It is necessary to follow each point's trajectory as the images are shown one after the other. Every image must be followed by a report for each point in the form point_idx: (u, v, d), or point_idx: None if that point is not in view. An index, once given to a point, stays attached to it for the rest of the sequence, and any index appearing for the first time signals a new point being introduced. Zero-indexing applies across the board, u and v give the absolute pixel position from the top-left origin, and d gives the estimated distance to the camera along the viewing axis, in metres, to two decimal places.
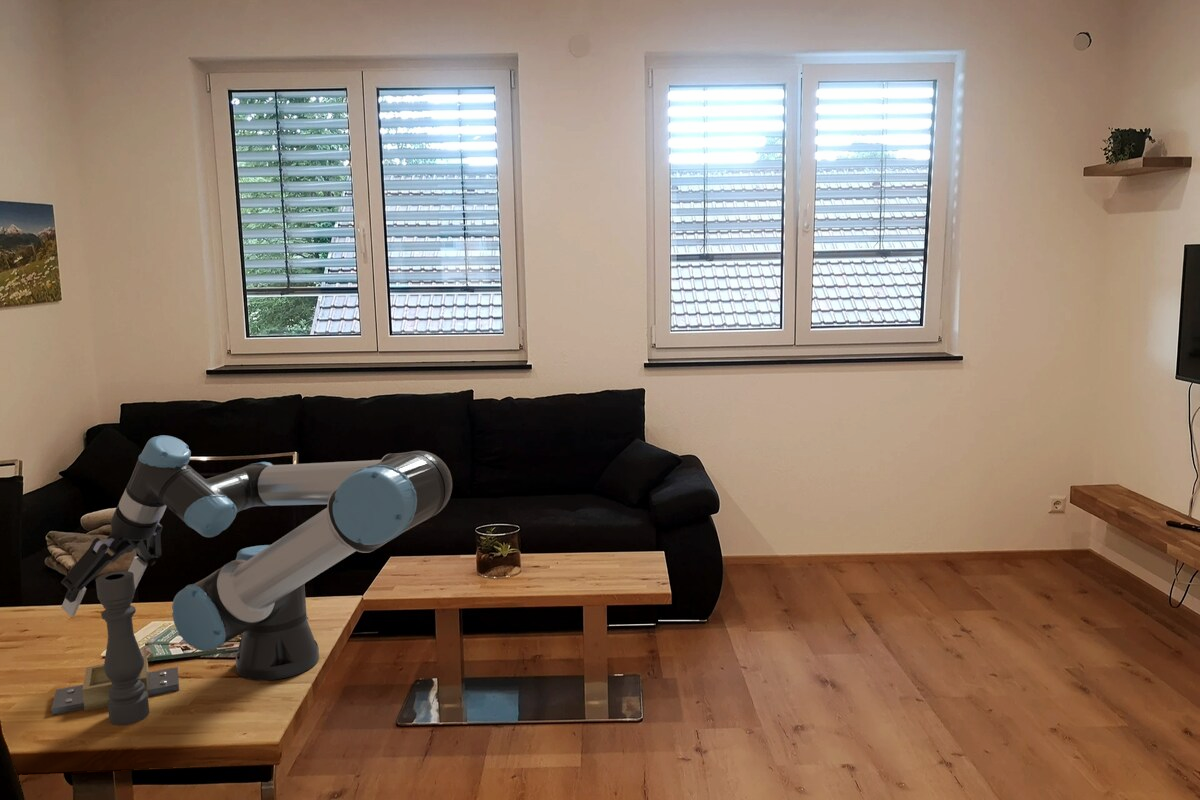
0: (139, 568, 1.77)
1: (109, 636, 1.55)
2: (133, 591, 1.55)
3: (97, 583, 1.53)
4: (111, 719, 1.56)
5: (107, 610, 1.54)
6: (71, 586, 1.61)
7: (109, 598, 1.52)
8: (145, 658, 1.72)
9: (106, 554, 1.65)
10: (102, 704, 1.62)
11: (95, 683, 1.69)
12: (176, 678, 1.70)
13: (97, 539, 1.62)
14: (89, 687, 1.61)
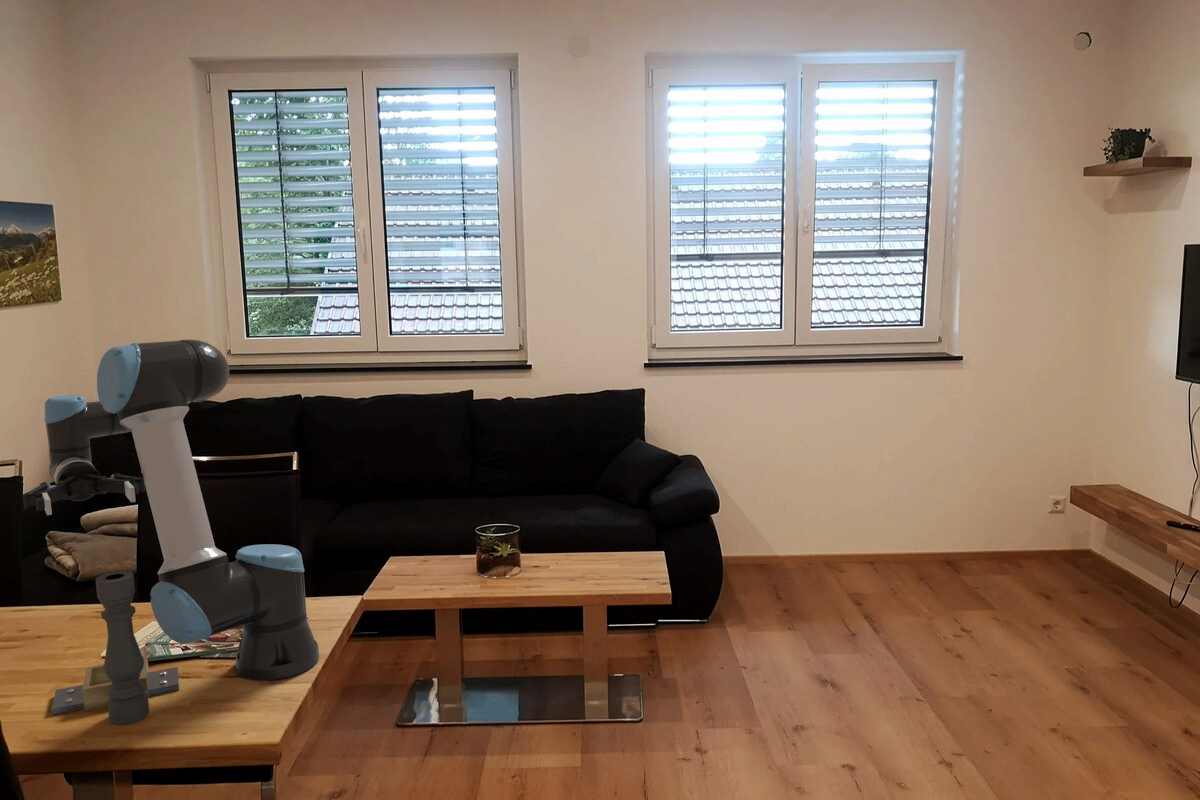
0: (125, 486, 1.77)
1: (109, 636, 1.55)
2: (133, 591, 1.55)
3: (97, 583, 1.53)
4: (111, 719, 1.56)
5: (107, 610, 1.54)
6: None
7: (109, 598, 1.52)
8: (145, 658, 1.72)
9: None
10: (102, 704, 1.62)
11: (95, 683, 1.69)
12: (176, 678, 1.70)
13: None
14: (89, 687, 1.61)
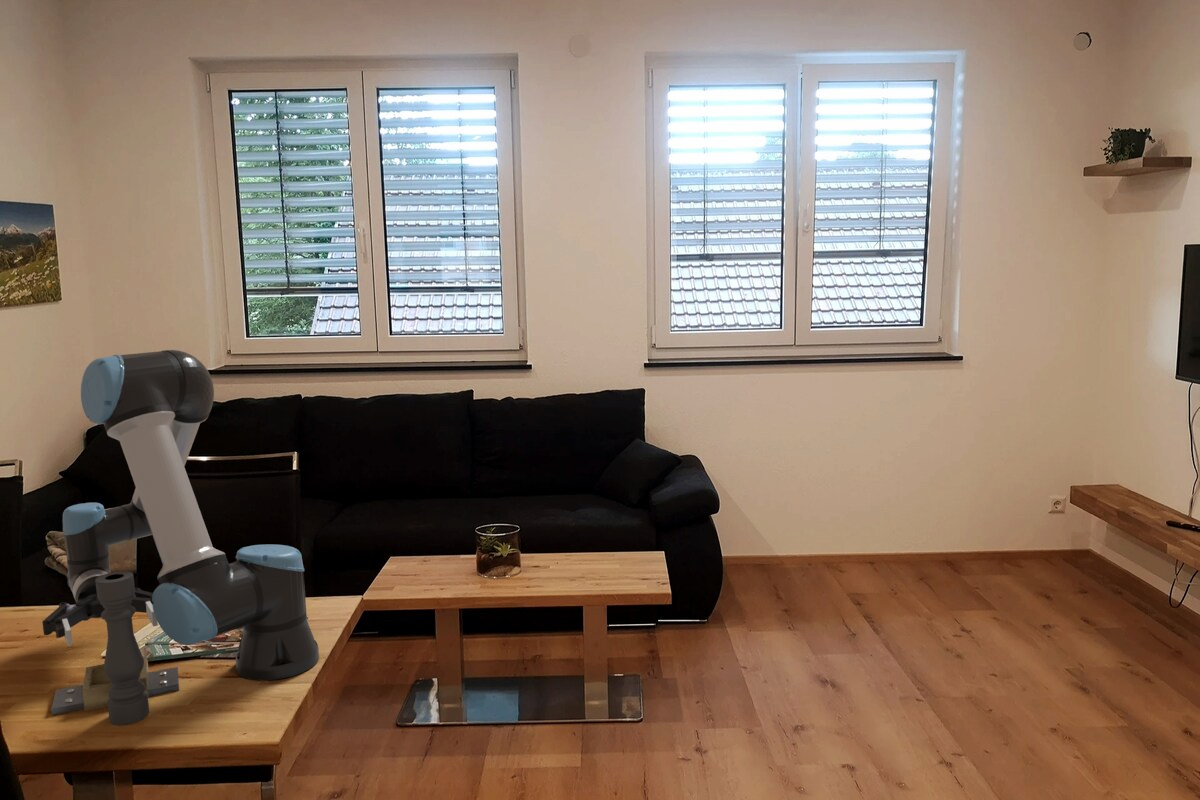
0: (147, 607, 1.72)
1: (109, 636, 1.55)
2: (133, 591, 1.55)
3: (97, 583, 1.53)
4: (111, 719, 1.56)
5: (107, 610, 1.54)
6: None
7: (109, 598, 1.52)
8: (145, 658, 1.72)
9: None
10: (102, 704, 1.62)
11: (95, 683, 1.69)
12: (176, 678, 1.70)
13: None
14: (89, 687, 1.61)
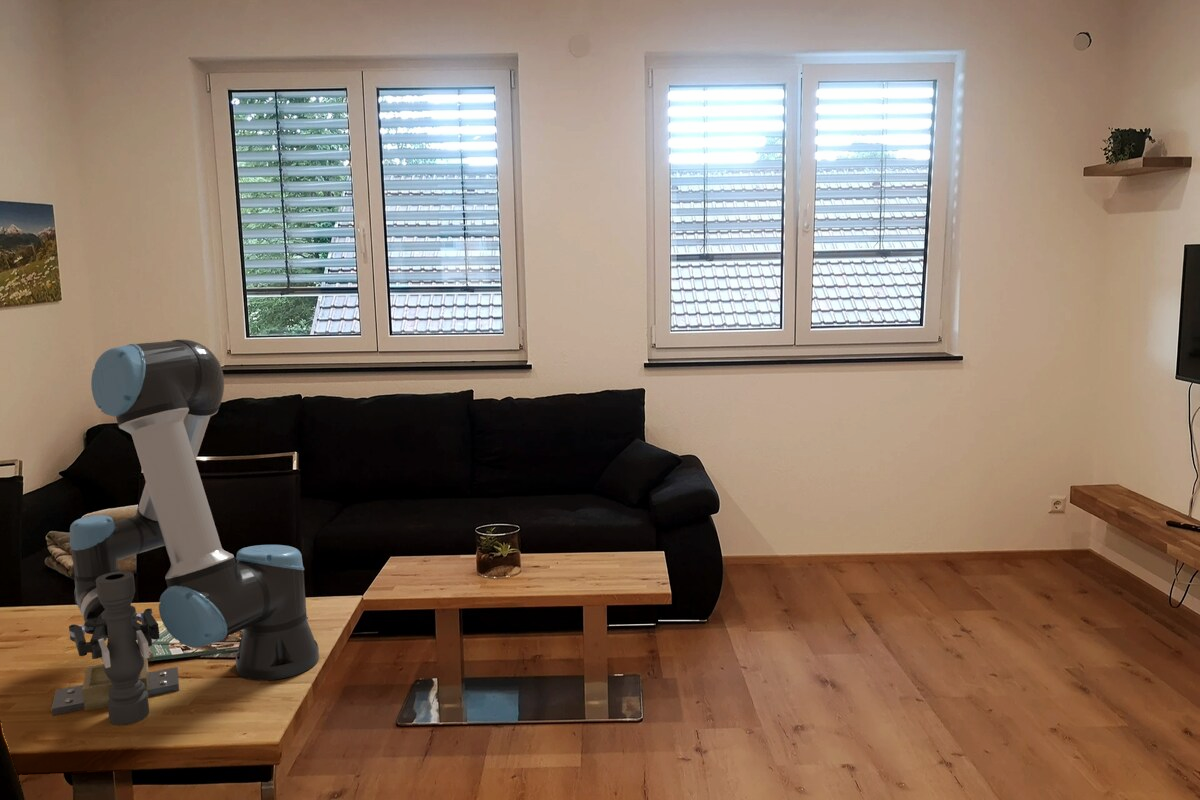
0: (137, 636, 1.58)
1: (109, 636, 1.55)
2: (133, 591, 1.55)
3: (97, 583, 1.53)
4: (111, 719, 1.56)
5: (107, 610, 1.54)
6: (77, 643, 1.55)
7: (109, 598, 1.52)
8: None
9: None
10: (102, 704, 1.62)
11: (95, 683, 1.69)
12: (176, 678, 1.70)
13: None
14: (89, 687, 1.61)
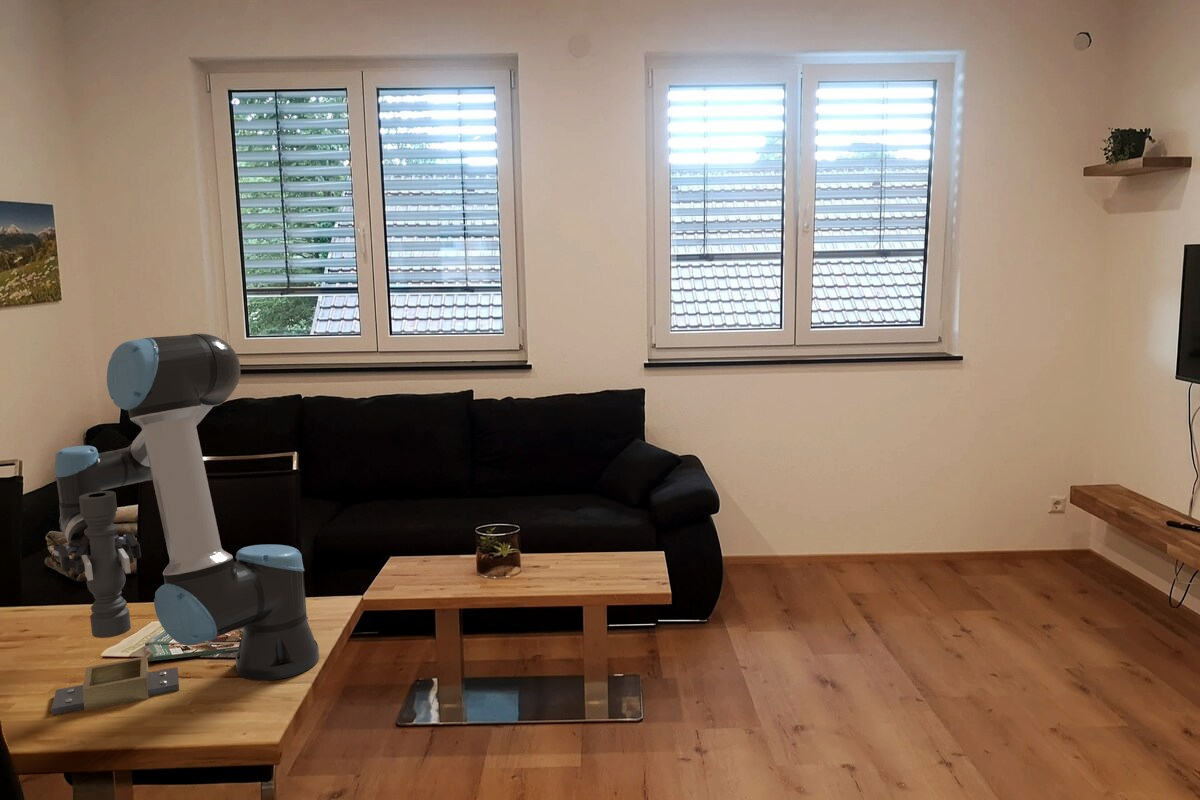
0: (119, 554, 1.64)
1: (92, 552, 1.61)
2: (115, 509, 1.62)
3: (80, 500, 1.59)
4: (93, 632, 1.63)
5: (90, 526, 1.60)
6: (61, 558, 1.62)
7: (91, 514, 1.59)
8: (145, 658, 1.72)
9: None
10: (102, 704, 1.62)
11: (95, 683, 1.69)
12: (176, 678, 1.70)
13: None
14: (89, 687, 1.61)
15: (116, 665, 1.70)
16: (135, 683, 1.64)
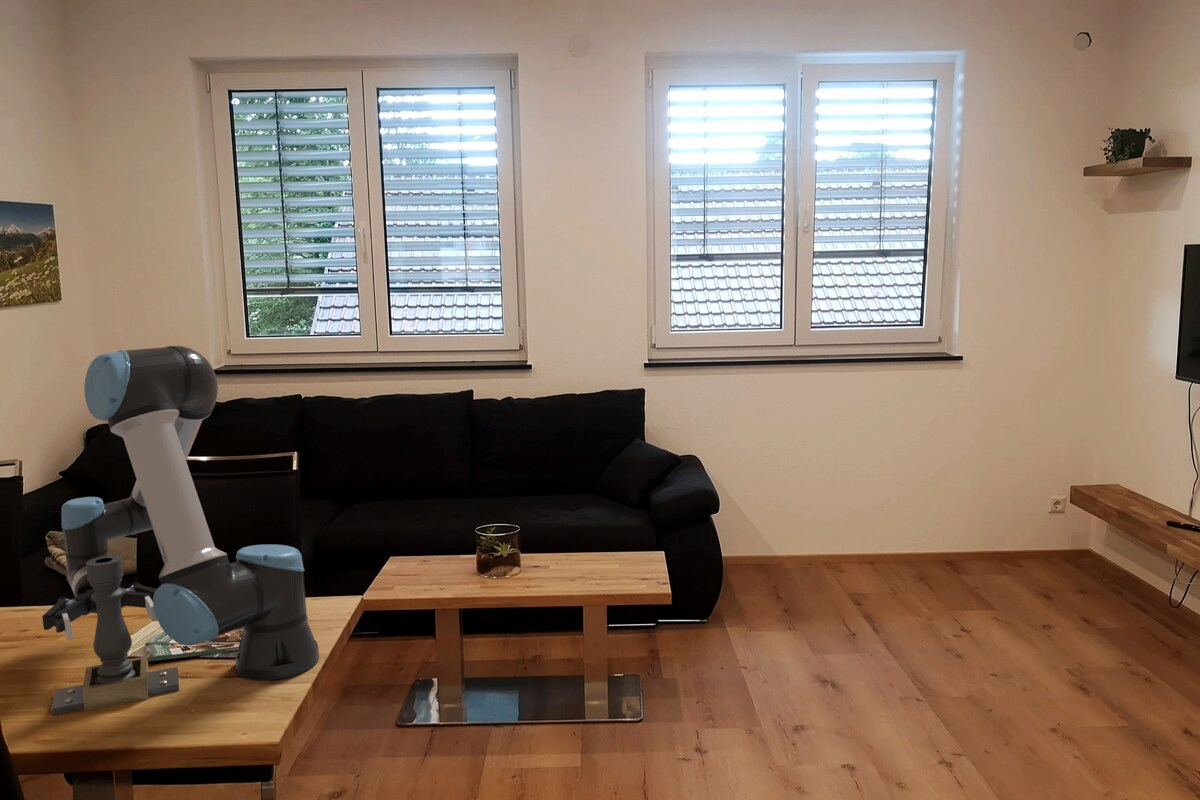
0: (146, 602, 1.70)
1: (98, 616, 1.64)
2: (121, 574, 1.64)
3: (87, 566, 1.61)
4: None
5: (97, 592, 1.63)
6: None
7: (98, 580, 1.61)
8: (145, 658, 1.72)
9: None
10: (102, 704, 1.62)
11: (95, 683, 1.69)
12: (176, 678, 1.70)
13: None
14: (89, 687, 1.61)
15: None
16: (135, 683, 1.64)
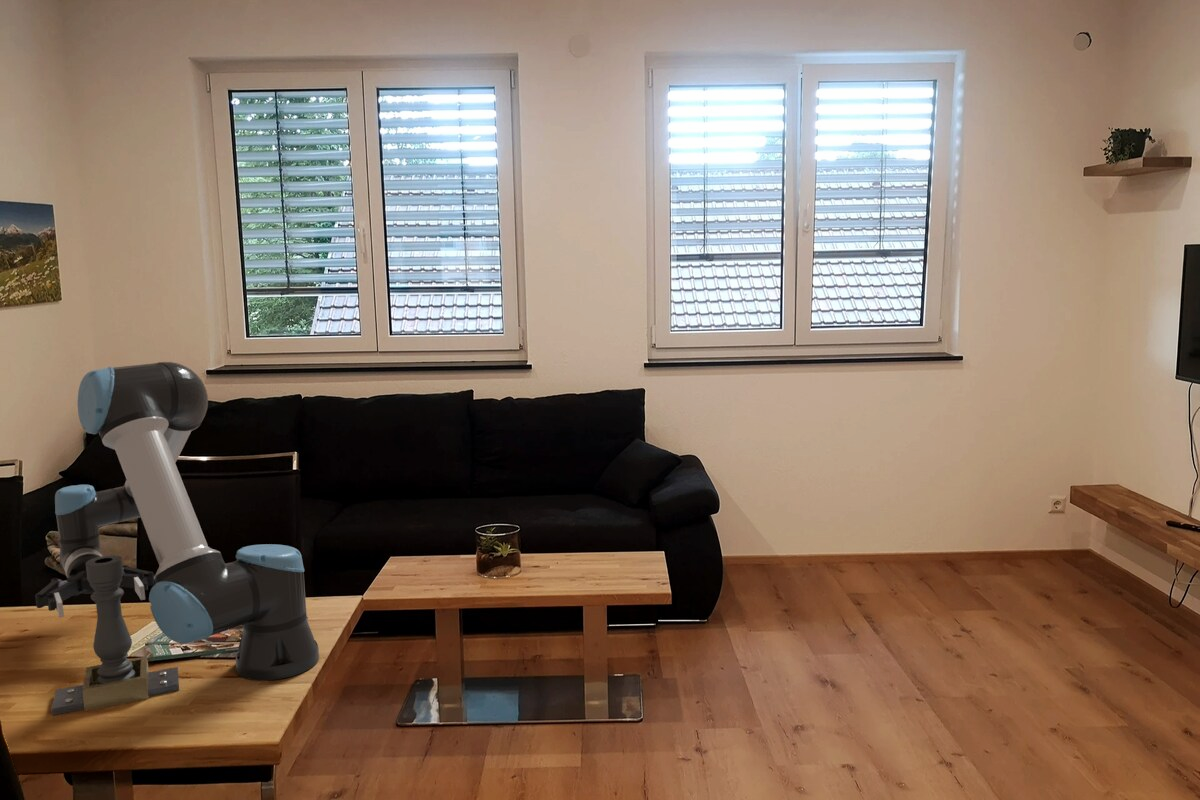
0: (135, 582, 1.80)
1: (98, 616, 1.64)
2: (121, 574, 1.64)
3: (87, 566, 1.61)
4: None
5: (96, 592, 1.63)
6: None
7: (98, 580, 1.61)
8: (145, 658, 1.72)
9: None
10: (102, 704, 1.62)
11: (95, 683, 1.69)
12: (176, 678, 1.70)
13: None
14: (89, 687, 1.61)
15: None
16: (135, 683, 1.64)
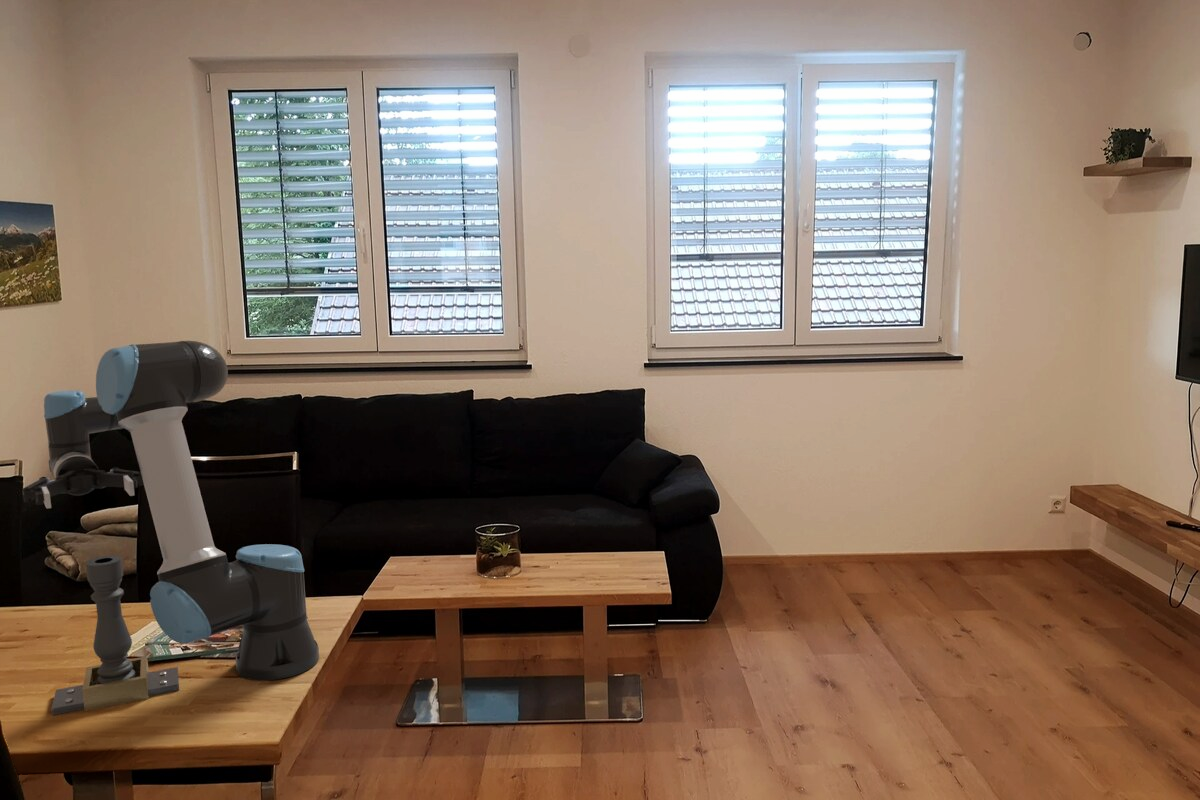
0: (124, 480, 1.78)
1: (98, 616, 1.63)
2: (121, 574, 1.64)
3: (87, 566, 1.61)
4: None
5: (96, 592, 1.63)
6: None
7: (98, 580, 1.61)
8: (145, 658, 1.72)
9: None
10: (102, 704, 1.62)
11: (95, 683, 1.69)
12: (176, 678, 1.70)
13: None
14: (89, 687, 1.61)
15: None
16: (135, 683, 1.64)
